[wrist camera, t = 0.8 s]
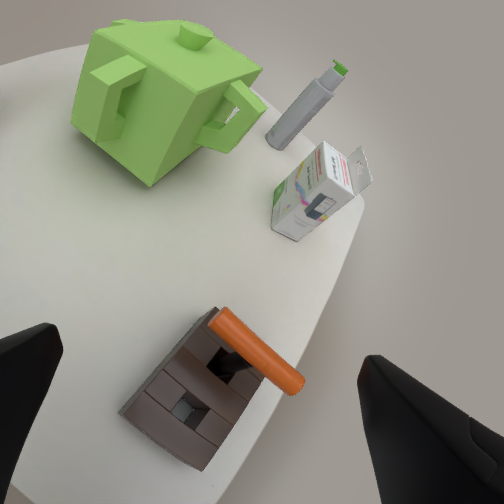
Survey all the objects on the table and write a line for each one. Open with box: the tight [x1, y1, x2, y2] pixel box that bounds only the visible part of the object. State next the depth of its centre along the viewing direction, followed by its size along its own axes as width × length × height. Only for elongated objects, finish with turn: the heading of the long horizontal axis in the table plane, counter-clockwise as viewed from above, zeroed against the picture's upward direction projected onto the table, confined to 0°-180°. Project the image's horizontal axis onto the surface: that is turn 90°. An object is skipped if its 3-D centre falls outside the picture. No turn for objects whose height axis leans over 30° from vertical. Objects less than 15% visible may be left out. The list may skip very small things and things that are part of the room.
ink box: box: [271, 141, 372, 241], centre depth 38 cm, size 9×5×15 cm, turn 172°
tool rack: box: [118, 307, 265, 472], centre depth 23 cm, size 13×8×4 cm, turn 146°
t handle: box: [206, 307, 305, 396], centre depth 22 cm, size 2×8×10 cm, turn 56°
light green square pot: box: [71, 19, 268, 187], centre depth 29 cm, size 25×23×17 cm
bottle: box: [266, 60, 348, 150], centre depth 45 cm, size 4×4×20 cm
